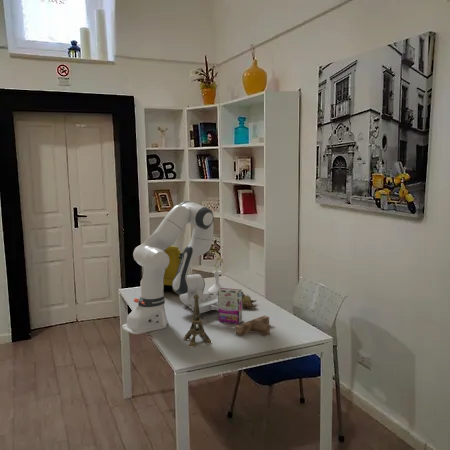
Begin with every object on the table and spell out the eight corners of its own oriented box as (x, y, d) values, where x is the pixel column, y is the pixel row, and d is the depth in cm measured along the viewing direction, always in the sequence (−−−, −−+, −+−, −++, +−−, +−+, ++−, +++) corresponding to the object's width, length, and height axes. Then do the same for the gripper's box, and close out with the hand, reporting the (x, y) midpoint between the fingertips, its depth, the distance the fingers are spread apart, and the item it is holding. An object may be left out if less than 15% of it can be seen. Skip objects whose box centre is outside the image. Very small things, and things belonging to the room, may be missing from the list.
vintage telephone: (202, 292, 277) (201, 243, 273) (190, 298, 265) (189, 248, 261) (160, 286, 292) (158, 240, 287) (147, 292, 280) (145, 244, 275)
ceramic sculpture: (230, 288, 254) (257, 290, 252) (229, 302, 255) (256, 305, 254) (228, 293, 243) (256, 296, 242) (227, 309, 245) (255, 311, 243)
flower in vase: (226, 296, 267) (225, 255, 264) (207, 296, 268) (206, 255, 264) (226, 290, 280) (226, 250, 277) (208, 290, 280) (207, 250, 277)
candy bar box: (242, 321, 227) (242, 289, 224) (239, 324, 222) (238, 292, 220) (221, 318, 231) (221, 287, 229) (218, 321, 226) (217, 289, 224)
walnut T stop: (252, 340, 202) (252, 332, 201) (235, 334, 210) (235, 326, 209) (281, 329, 215) (281, 321, 215) (264, 323, 223) (264, 315, 223)
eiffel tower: (190, 347, 197) (188, 291, 193) (182, 338, 206) (180, 285, 203) (212, 342, 201) (211, 288, 197) (204, 334, 210) (202, 282, 207)
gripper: (187, 300, 234) (204, 307, 224) (216, 292, 248) (234, 297, 238) (187, 312, 235) (204, 319, 225) (216, 303, 249) (234, 309, 239)
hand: (220, 308), depth 231 cm, fingers closed
